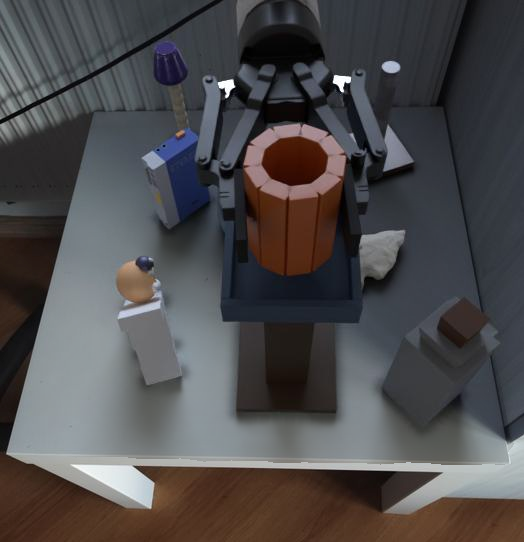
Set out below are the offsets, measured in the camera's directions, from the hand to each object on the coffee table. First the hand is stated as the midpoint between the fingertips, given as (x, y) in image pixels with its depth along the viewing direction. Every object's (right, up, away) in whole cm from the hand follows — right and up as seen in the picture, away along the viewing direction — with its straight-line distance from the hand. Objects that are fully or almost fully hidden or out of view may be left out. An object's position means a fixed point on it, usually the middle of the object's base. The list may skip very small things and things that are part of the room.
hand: (298, 248), depth 39 cm
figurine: (-16, -6, +32) cm, 37 cm away
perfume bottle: (+17, -12, +29) cm, 35 cm away
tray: (0, -9, +30) cm, 32 cm away
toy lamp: (-15, +25, +47) cm, 55 cm away
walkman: (-14, +13, +42) cm, 46 cm away
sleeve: (0, +2, +7) cm, 7 cm away
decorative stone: (+12, +5, +37) cm, 40 cm away
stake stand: (+14, +23, +46) cm, 53 cm away
